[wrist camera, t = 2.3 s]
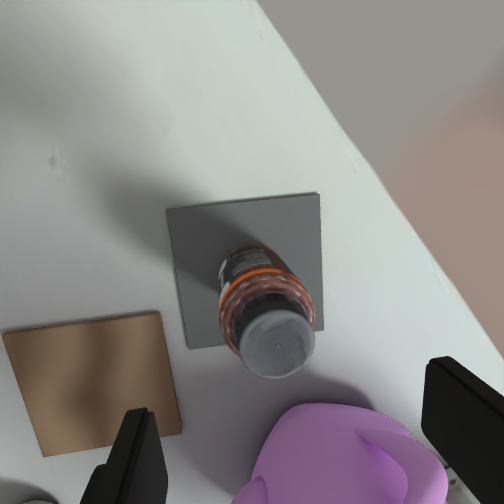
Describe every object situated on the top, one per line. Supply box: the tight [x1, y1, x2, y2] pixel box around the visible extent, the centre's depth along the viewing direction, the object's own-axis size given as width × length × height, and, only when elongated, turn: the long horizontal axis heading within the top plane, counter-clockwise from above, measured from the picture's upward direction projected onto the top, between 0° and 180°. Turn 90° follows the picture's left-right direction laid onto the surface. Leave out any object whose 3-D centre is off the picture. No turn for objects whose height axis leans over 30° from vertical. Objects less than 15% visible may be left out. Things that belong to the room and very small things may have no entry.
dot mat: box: [166, 194, 324, 350], centre depth 25 cm, size 13×13×1 cm
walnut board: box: [1, 312, 182, 457], centre depth 26 cm, size 13×13×1 cm
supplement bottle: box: [218, 244, 315, 379], centre depth 20 cm, size 6×6×11 cm
